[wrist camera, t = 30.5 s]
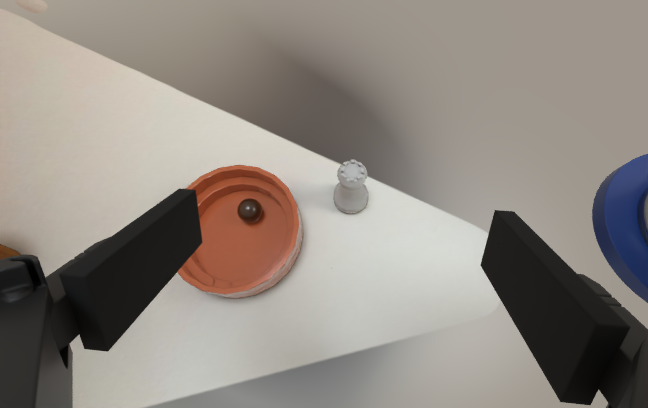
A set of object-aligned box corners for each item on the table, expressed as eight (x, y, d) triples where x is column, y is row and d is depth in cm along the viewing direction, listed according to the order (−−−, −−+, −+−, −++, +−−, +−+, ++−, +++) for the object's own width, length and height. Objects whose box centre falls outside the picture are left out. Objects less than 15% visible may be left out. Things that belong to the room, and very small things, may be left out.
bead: (255, 230, 41) (264, 215, 43) (258, 212, 39) (267, 198, 41) (232, 222, 41) (242, 208, 43) (234, 204, 39) (244, 190, 41)
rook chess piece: (357, 177, 44) (360, 145, 37) (374, 204, 43) (381, 177, 35) (327, 192, 44) (324, 162, 36) (343, 220, 42) (344, 196, 35)
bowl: (324, 210, 43) (322, 196, 38) (262, 321, 38) (253, 320, 34) (226, 164, 46) (214, 147, 42) (158, 262, 41) (138, 253, 37)
